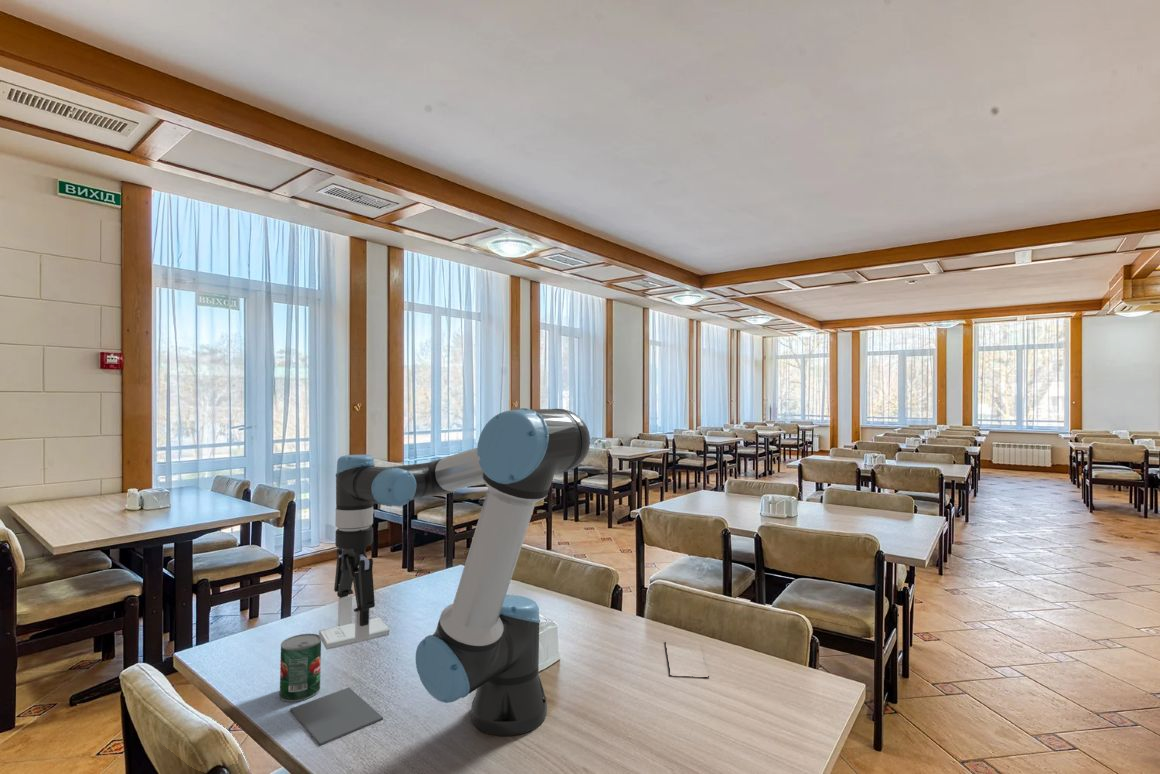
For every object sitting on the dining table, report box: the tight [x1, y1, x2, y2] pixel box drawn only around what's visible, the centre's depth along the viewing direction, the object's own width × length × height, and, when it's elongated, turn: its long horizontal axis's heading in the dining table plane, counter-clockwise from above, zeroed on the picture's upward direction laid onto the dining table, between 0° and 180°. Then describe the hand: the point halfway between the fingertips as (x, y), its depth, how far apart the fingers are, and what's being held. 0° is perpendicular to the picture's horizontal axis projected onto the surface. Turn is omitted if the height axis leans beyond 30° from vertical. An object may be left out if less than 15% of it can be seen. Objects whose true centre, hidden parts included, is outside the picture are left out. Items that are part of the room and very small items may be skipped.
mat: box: [289, 687, 384, 746], centre depth 112 cm, size 16×12×1 cm
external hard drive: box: [318, 617, 390, 651], centre depth 120 cm, size 2×8×12 cm
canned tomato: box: [279, 633, 322, 703], centre depth 121 cm, size 8×8×11 cm
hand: (353, 633), depth 120 cm, fingers closed on external hard drive, 9 cm apart
